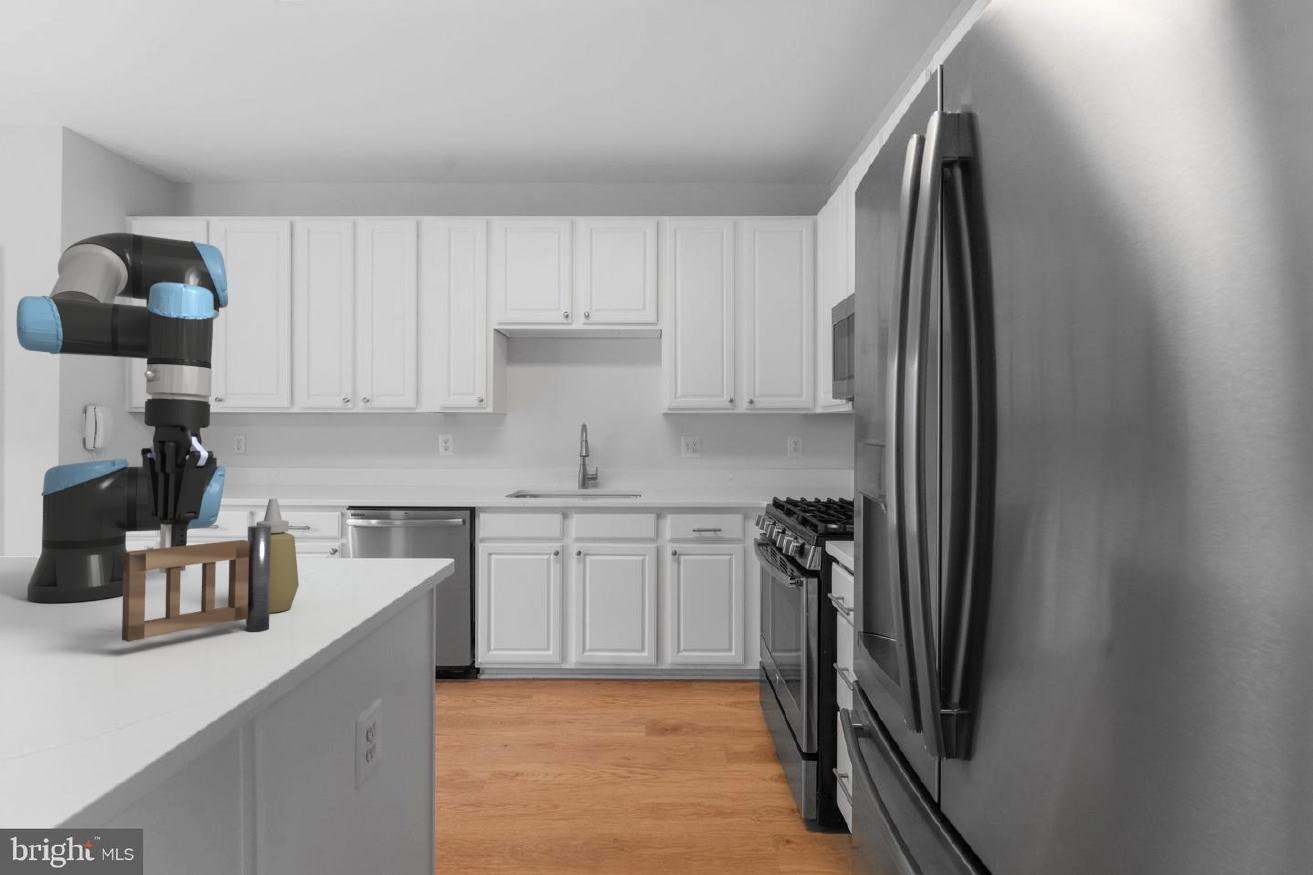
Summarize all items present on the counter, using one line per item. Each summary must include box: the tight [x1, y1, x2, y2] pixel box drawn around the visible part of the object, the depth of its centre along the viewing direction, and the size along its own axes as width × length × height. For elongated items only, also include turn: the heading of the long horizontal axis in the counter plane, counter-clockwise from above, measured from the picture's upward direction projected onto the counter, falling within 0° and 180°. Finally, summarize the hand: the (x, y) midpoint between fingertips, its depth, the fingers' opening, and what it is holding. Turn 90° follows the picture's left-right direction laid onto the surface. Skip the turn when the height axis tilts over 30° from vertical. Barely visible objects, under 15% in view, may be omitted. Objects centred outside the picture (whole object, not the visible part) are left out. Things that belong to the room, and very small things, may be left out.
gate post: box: [245, 525, 271, 633], centre depth 109 cm, size 3×3×15 cm
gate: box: [121, 539, 249, 643], centre depth 101 cm, size 2×15×11 cm, turn 147°
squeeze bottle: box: [255, 498, 300, 614], centre depth 121 cm, size 8×8×18 cm
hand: (172, 571), depth 101 cm, fingers closed
